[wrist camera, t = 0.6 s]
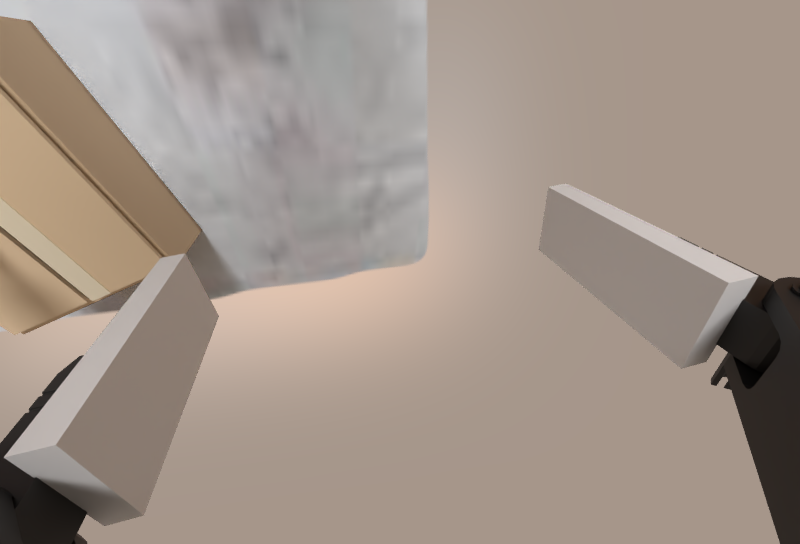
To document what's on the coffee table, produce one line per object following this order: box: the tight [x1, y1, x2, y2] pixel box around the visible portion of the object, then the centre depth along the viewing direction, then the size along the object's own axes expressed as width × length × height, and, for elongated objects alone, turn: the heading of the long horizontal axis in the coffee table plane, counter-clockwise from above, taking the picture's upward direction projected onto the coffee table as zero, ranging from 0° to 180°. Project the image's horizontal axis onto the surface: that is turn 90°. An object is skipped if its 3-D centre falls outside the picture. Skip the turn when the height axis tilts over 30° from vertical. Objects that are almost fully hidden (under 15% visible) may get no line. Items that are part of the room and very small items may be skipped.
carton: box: [0, 16, 202, 334], centre depth 28 cm, size 20×16×9 cm
